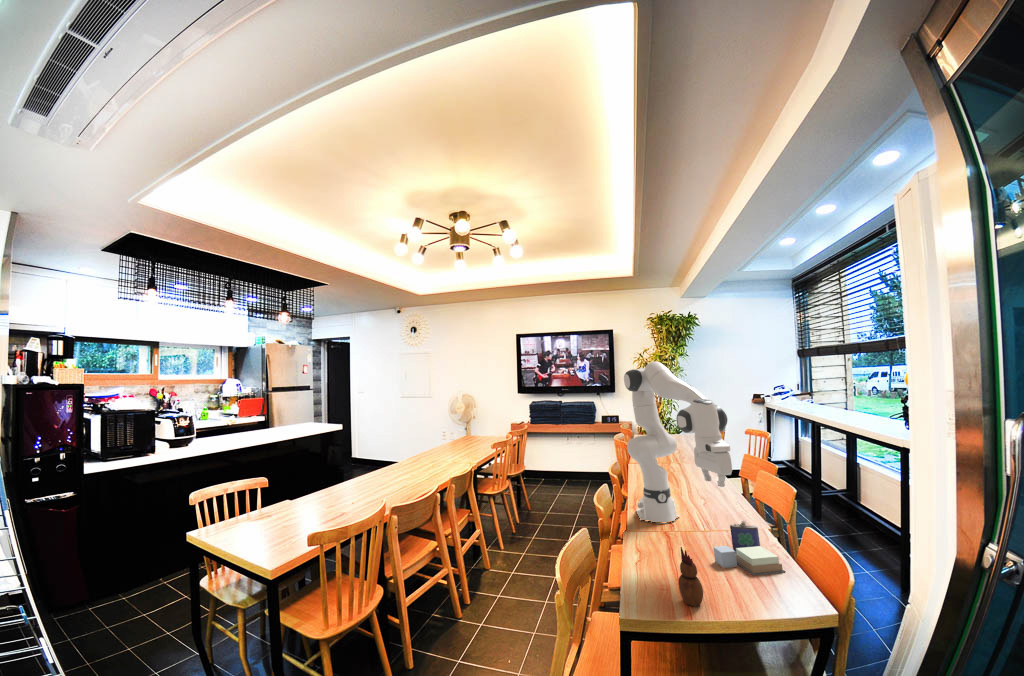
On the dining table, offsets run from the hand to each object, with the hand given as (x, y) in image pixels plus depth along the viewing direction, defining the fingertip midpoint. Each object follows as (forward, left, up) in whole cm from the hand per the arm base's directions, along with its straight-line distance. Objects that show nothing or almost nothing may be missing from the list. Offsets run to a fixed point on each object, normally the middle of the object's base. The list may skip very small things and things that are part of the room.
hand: (714, 483), depth 144 cm
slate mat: (+4, +9, -27) cm, 29 cm away
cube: (0, 0, -27) cm, 27 cm away
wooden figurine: (+22, -23, -27) cm, 42 cm away
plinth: (+4, +9, -27) cm, 29 cm away
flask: (-8, +13, -27) cm, 31 cm away
